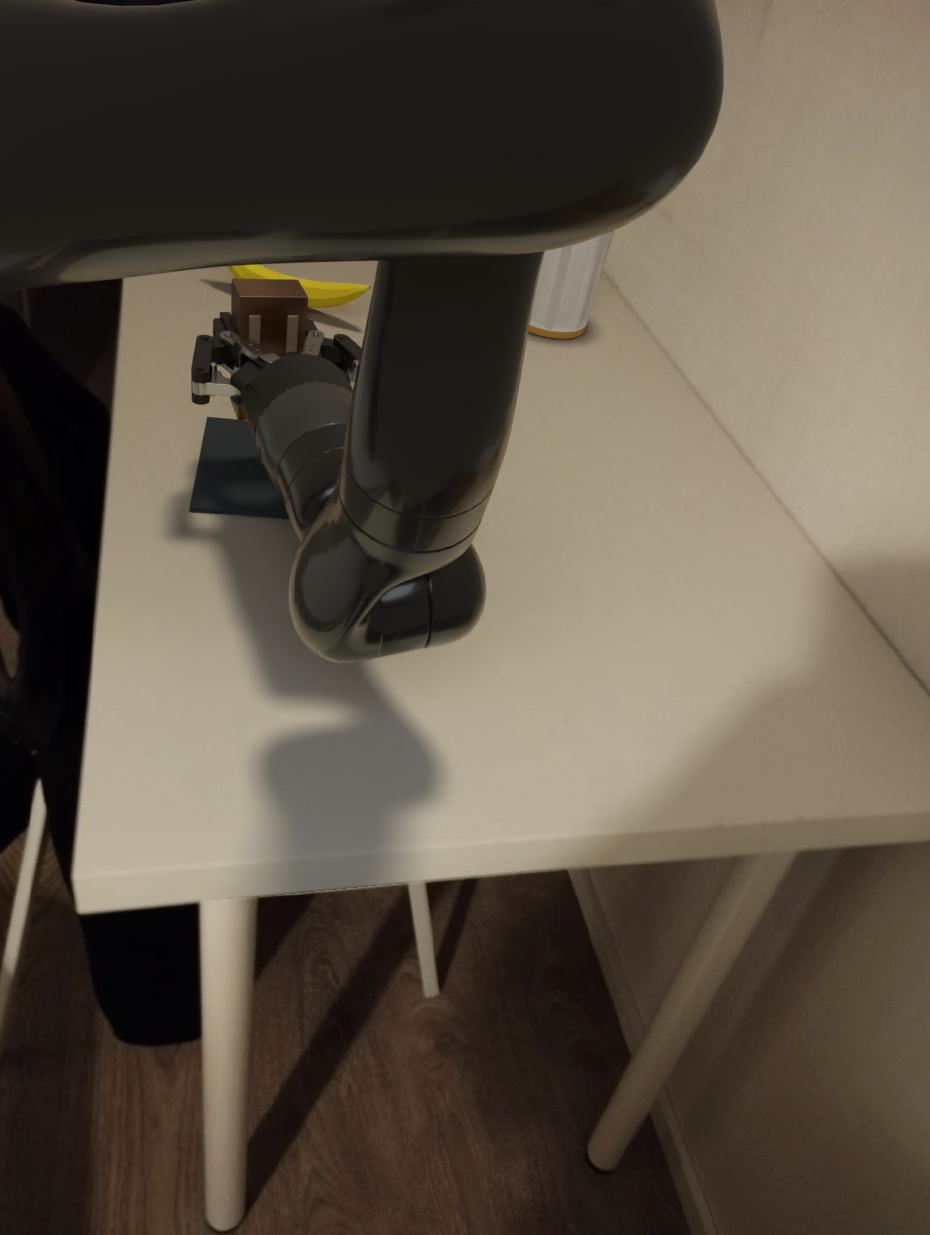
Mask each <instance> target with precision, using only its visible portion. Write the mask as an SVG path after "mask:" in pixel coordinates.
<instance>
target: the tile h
mask: <svg viewBox="0 0 930 1235" xmlns="http://www.w3.org/2000/svg"><path fill="white" fill-rule="evenodd" d="M230 291H231V293H230V294H231V295H230V299H231V300H230V314H231V317H232V319H233V322H234V324H235V326H236V329H237V331H238V335H239V336H240V337H242V338H243V339H244V340H247V339H253V340H254V341H255V342H256V343H258V344H259V345H260V346H262V347H263V348H264V349H266V350H267V351H268V352H274V353H287V352H301V351H302V348H303V345H304V341H305V338H306V326H307V318H308V310H309V307H308V296H307V294H306V292H305V291H304V289H303V287H302V285H301V284H300V282H299V280H291V279H237V278H231V290H230ZM231 376H232V375H231V374H230V373H229V377H230V378H229V379H231ZM229 401H230V404H231V406H232V408H233V411H234V413H235V416H236V419H238V420H246V418H245V415H244V412H243V409H242V408H241V407H239V406H237V405H236V404H235V403H234V402H233V401H232V400H231V397H229Z"/></svg>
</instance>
